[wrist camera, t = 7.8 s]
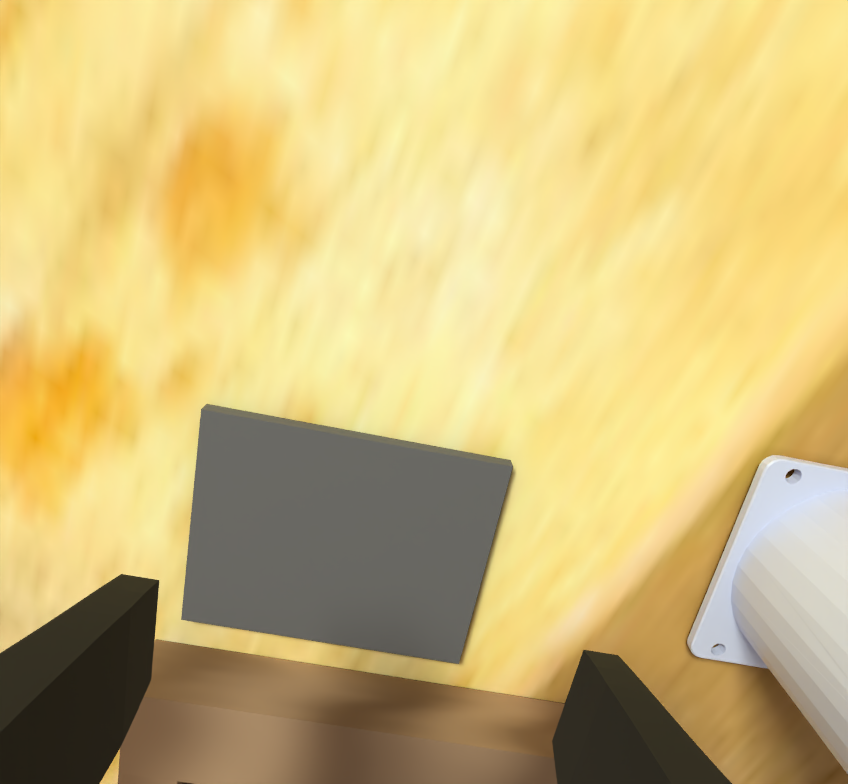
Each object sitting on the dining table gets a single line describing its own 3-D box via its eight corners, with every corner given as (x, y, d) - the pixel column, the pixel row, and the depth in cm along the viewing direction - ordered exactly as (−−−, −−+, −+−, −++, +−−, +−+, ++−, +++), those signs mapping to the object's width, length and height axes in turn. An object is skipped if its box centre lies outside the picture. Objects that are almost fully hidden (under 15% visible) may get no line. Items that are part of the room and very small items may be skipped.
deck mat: (510, 460, 20) (512, 466, 19) (458, 654, 22) (458, 663, 22) (206, 404, 19) (201, 409, 18) (186, 610, 21) (181, 619, 21)
